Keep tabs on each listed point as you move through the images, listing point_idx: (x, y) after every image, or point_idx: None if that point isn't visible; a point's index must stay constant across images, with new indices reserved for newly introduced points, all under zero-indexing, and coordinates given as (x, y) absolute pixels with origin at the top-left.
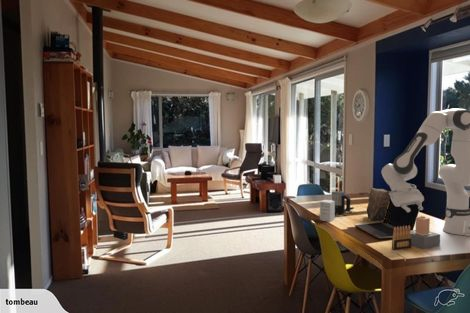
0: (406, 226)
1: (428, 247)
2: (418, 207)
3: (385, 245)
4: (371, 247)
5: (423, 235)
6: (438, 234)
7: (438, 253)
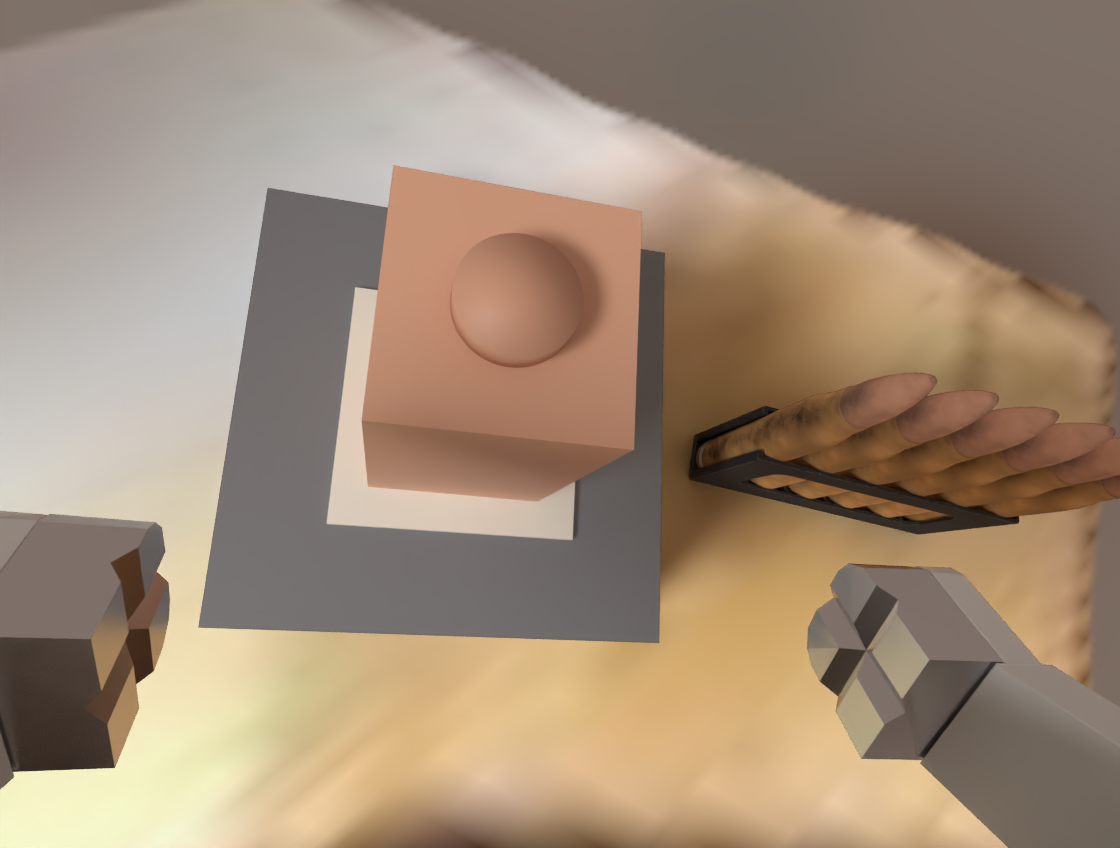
0: (983, 394)
1: None
2: (116, 724)
3: None
4: None
5: None
6: (297, 203)
7: (588, 146)
